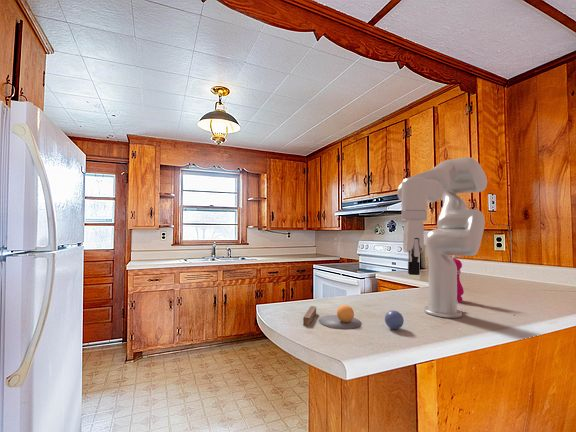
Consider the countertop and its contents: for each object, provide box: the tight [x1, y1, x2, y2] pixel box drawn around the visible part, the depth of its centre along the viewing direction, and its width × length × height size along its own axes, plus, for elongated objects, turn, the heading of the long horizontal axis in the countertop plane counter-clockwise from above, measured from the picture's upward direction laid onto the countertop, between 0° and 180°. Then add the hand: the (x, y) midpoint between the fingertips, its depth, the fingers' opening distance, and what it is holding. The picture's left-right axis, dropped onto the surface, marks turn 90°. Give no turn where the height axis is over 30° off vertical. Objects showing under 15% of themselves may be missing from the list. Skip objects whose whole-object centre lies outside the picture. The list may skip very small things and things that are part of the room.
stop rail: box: [302, 305, 317, 327], centre depth 102 cm, size 2×14×2 cm, turn 166°
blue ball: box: [384, 310, 404, 330], centre depth 94 cm, size 6×6×6 cm
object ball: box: [336, 304, 355, 323], centre depth 99 cm, size 6×6×6 cm
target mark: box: [318, 314, 362, 330], centre depth 99 cm, size 14×14×1 cm
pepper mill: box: [451, 255, 465, 303], centre depth 132 cm, size 7×7×20 cm
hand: (413, 274), depth 94 cm, fingers closed
